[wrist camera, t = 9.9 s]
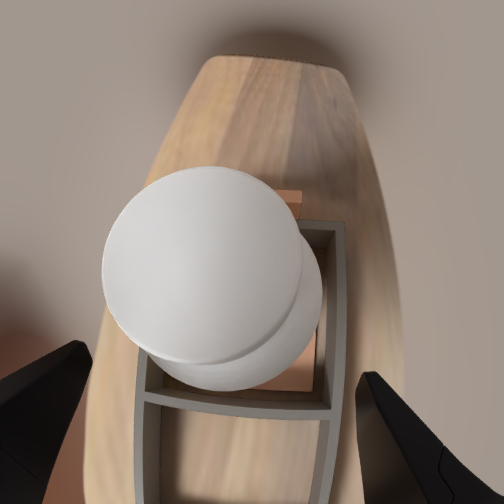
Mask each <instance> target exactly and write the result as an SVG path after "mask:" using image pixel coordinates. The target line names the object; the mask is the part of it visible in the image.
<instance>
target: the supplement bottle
mask: <svg viewBox="0 0 504 504" xmlns="http://www.w3.org/2000/svg"><path fill="white" fill-rule="evenodd" d="M102 284H103V290H104V294H105V298H106V301H107V304H108V307H109V310H110V312H111V314H112V316H113V317H114V319H115V321H116V322H117V324H118V325H119V327H120V328H121V329H122V330H123V332H124V333H125V334H126V335H127V336H128V337H129V338H130V339H131V340H132V341H133V342H134V343H136V344H137V345H138V346H140V347H141V348H142V349H144V350H145V351H146V352H147V354H148V355H149V356H150V357H151V359H152V360H153V361H154V362H155V363H156V364H157V365H158V366H159V367H160V368H162V369H163V370H164V371H165V372H166V373H168V374H169V375H171V376H172V377H174V378H176V379H177V380H179V381H181V382H183V383H185V384H188V385H191V386H194V387H197V388H201V389H205V390H211V391H237V390H243V389H248V388H251V387H255V386H257V385H260V384H262V383H265V382H267V381H269V380H271V379H273V378H275V377H276V376H278V375H279V374H281V373H282V372H283V371H285V370H286V369H287V368H289V367H290V366H291V365H292V364H293V363H294V362H295V361H296V360H297V359H298V358H299V356H300V355H301V354H302V353H303V351H304V350H305V349H306V347H307V346H308V344H309V342H310V340H311V339H312V337H313V335H314V332H315V330H316V327H317V324H318V321H319V317H320V313H321V307H322V280H321V274H320V270H319V266H318V263H317V261H316V258H315V256H314V253H313V251H312V249H311V248H310V246H309V244H308V243H307V241H306V240H305V238H304V237H303V236H302V235H301V234H300V232H299V228H298V225H297V223H296V221H295V218H294V216H293V214H292V212H291V210H290V209H289V207H288V206H287V204H286V203H285V202H284V200H283V199H282V198H281V197H280V196H279V195H278V194H277V193H276V192H275V191H274V190H273V189H271V188H270V187H269V186H268V185H266V184H265V183H264V182H262V181H261V180H259V179H257V178H255V177H253V176H251V175H249V174H247V173H244V172H242V171H239V170H235V169H232V168H226V167H219V166H201V167H193V168H188V169H184V170H180V171H177V172H174V173H171V174H169V175H166V176H164V177H162V178H160V179H158V180H156V181H155V182H153V183H151V184H150V185H148V186H147V187H146V188H144V189H143V190H141V191H140V192H139V193H138V194H137V195H136V196H135V197H134V198H133V199H132V200H131V201H130V202H129V203H128V204H127V206H126V207H125V208H124V209H123V211H122V212H121V213H120V215H119V216H118V218H117V220H116V221H115V223H114V225H113V227H112V229H111V231H110V233H109V236H108V238H107V241H106V245H105V249H104V253H103V260H102Z"/></svg>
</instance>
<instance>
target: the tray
mask: <svg viewBox="0 0 504 504" xmlns="http://www.w3.org/2000/svg"><path fill="white" fill-rule="evenodd" d="M273 190H274V191H275V192H276V193H277V194H278V195H279V196H280V197H281V198H282V199H283V200H284V202H285V203H286V204H287V206H288V207H289V209H290V210H291V212H292V214H293V216H294V218H295V221H296V223H297V225H298V228H299V232H300V234H301V235H302V236H303V237H304V238H305V240H306V241H307V243H308V244H309V246H310V247H312V248H327V325H326V350H325V368H324V383H323V396H322V402H295V401H270V400H254V399H242V398H232V397H223V396H215V395H207V394H200V393H193V392H187V391H181V390H175V389H170V388H164V387H163V378H164V370H163V369H162V368H160V367H159V366H158V365H157V364H156V363H155V362H154V361H153V360H152V359H151V357H150V356H149V355H148V354H147V352H146V351H145V350H144V349H142V348H141V347H140V346H139V355H138V365H137V377H136V392H135V411H134V485H135V502H136V504H160V427H161V407H162V405H165V406H170V407H175V408H180V409H185V410H191V411H197V412H204V413H211V414H218V415H227V416H236V417H246V418H259V419H276V420H320V427H319V436H318V444H317V452H316V460H315V467H314V473H313V480H312V486H311V492H310V498H309V503H308V504H328V501H329V496H330V491H331V485H332V480H333V474H334V468H335V461H336V455H337V448H338V440H339V432H340V424H341V414H342V404H343V392H344V379H345V362H346V337H347V268H346V243H345V225H344V222H334V221H318V220H300V219H299V217H300V212H301V206H302V191H296V190H275V189H273ZM315 258H316V261H317V256H315ZM315 337H316V330H315V332H314V335H313V337H312V339H311V340H310V342H309V344H308V346H307V347H306V349H305V350H304V351H303V353H302V354H301V355H300V356H299V358H298V359H297V360H296V361H295V362H294V363H293V364H292V365H291V366H290V367H289V368H287V369H286V370H285V371H283V372H282V373H281V374H279V375H278V376H276V377H275V378H273V379H271V380H269V381H267V382H265V383H262V384H260V385H257V386H255V387H251V388H248V389H261V390H279V391H312V386H313V372H314V356H315ZM173 379H176V378H174V377H173ZM176 380H177V379H176Z"/></svg>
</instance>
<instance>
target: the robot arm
mask: <svg viewBox="0 0 504 504" xmlns="http://www.w3.org/2000/svg"><path fill="white" fill-rule="evenodd" d="M92 363H93V360H92V357H91V355H90V353H89V350H88V348H87V345H86V344H85V343H84V342H82V341H78V340H73V341H71V342H70V343H68V344H66V345H64V346H62V347H60V348H58V349H56V350H55V351H53V352H51V353H49V354H47V355H45V356H43V357H41V358H39V359H38V360H36V361H34V362H32V363H30V364H28V365H26V366H25V367H23V368H21V369H19V370H17V371H15V372H13V373H11V374H10V375H8V376H6V377H4V378H2V379H1V380H0V504H42V502H43V499H44V496H45V492H46V489H47V485H48V483H49V479H50V476H51V473H52V471H53V468H54V464H55V462H56V459H57V456H58V454H59V451H60V448H61V445H62V443H63V440H64V438H65V435H66V433H67V430H68V428H69V426H70V423H71V421H72V418H73V416H74V413H75V411H76V409H77V407H78V404H79V402H80V399H81V397H82V394H83V391H84V388H85V385H86V382H87V379H88V376H89V373H90V370H91V367H92ZM355 402H356V429H357V443H358V450H359V457H360V465H361V473H362V482H363V491H364V501H365V504H504V496H501V495H500V494H498V493H496V492H494V491H493V490H492V489H491V488H490V487H489V486H487V485H486V484H485V483H484V482H483V481H481V480H480V479H479V478H478V477H477V476H475V475H474V474H473V473H472V472H471V471H470V470H469V469H468V468H466V467H465V466H464V465H463V464H462V463H461V462H460V461H459V460H458V459H457V458H456V457H455V456H454V455H453V454H452V453H451V452H450V451H449V449H448V448H447V447H446V446H443V443H442V442H441V441H440V440H439V439H438V438H437V436H436V435H435V434H434V433H433V432H432V431H431V430H430V429H429V428H428V427H427V426H426V424H424V422H423V421H422V420H421V419H420V418H419V417H418V416H417V415H416V414H415V413H414V411H413V410H412V409H411V408H410V407H409V406H408V405H407V404H406V403H405V402H404V401H403V400H402V399H401V397H400V396H399V395H398V394H397V393H396V392H395V391H394V390H393V389H392V388H391V387H390V386H389V385H388V383H387V382H386V381H385V380H384V379H383V378H382V377H381V376H380V375H379V374H378V373H377V372H375V371H370V372H363V373H362V375H361V378H360V380H359V383H358V385H357V388H356V391H355Z"/></svg>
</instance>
